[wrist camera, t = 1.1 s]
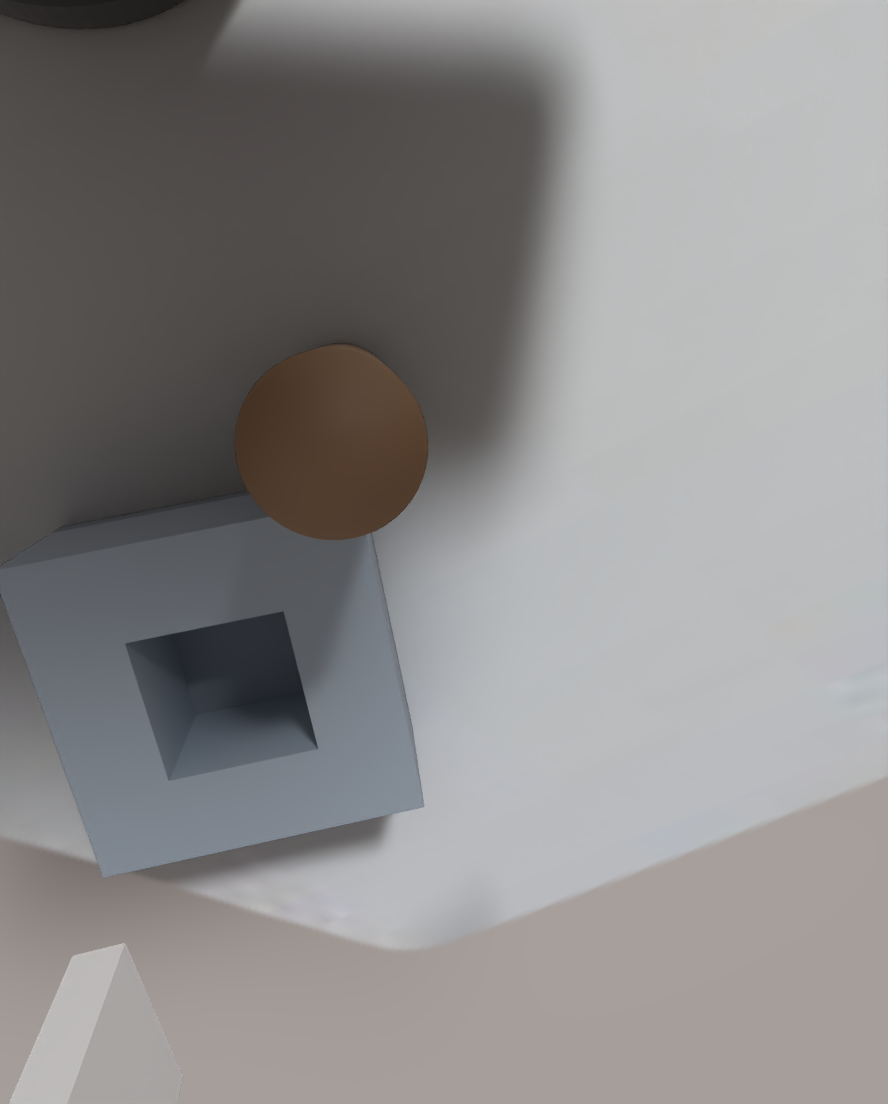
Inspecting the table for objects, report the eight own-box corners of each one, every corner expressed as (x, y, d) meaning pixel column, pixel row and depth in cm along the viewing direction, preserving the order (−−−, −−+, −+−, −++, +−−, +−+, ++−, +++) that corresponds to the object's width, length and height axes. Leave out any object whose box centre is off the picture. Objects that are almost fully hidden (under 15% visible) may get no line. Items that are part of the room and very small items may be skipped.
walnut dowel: (280, 353, 30) (212, 368, 15) (382, 334, 30) (409, 332, 16) (304, 454, 31) (260, 556, 17) (402, 435, 31) (443, 520, 17)
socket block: (60, 527, 31) (-8, 571, 25) (358, 469, 31) (359, 499, 26) (145, 786, 34) (103, 877, 28) (412, 729, 35) (424, 806, 29)
